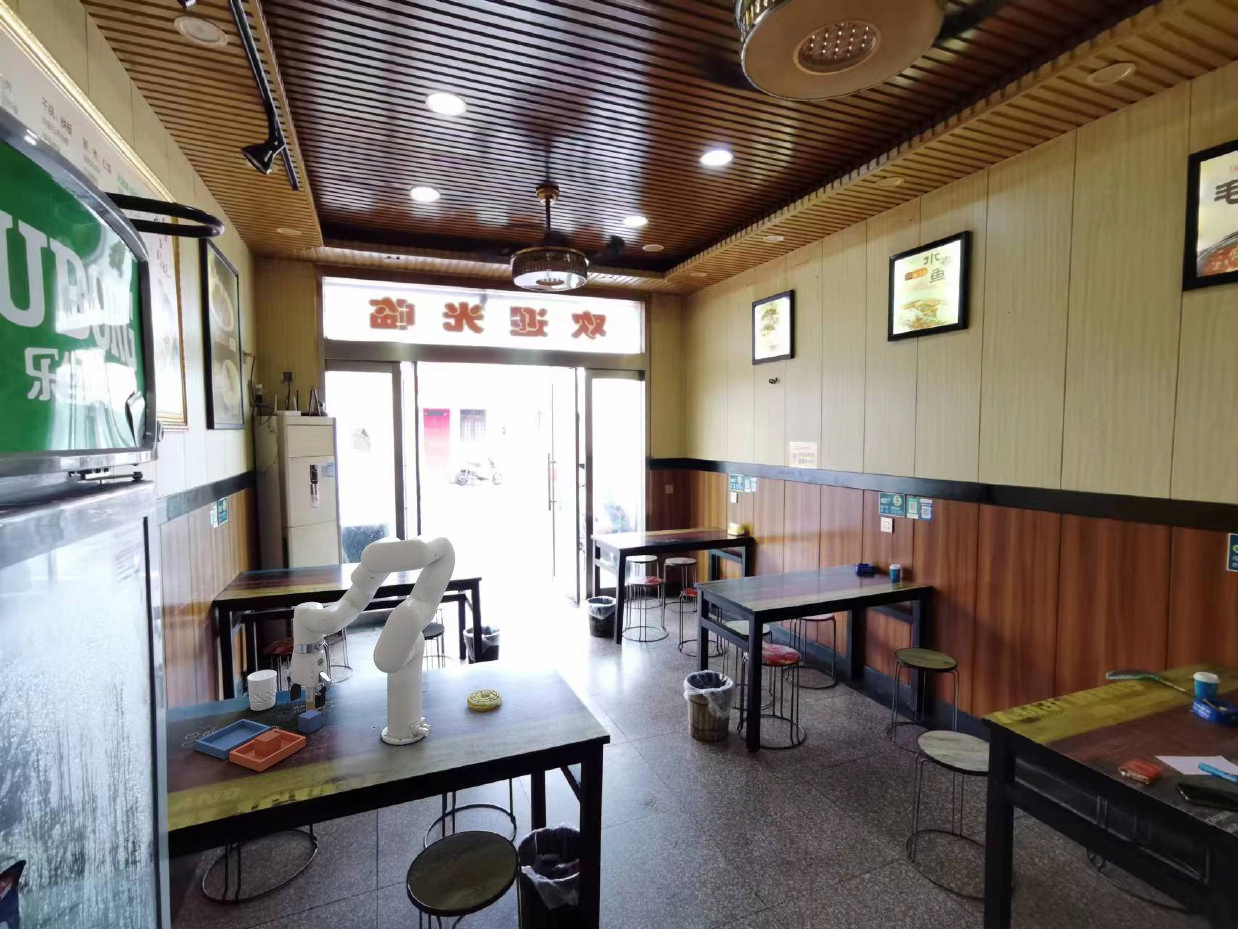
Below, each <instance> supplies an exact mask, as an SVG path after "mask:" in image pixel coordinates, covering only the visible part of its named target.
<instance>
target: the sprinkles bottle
mask: <svg viewBox="0 0 1238 929" xmlns="http://www.w3.org/2000/svg"><path fill="white" fill-rule="evenodd" d="M318 683H319V682H318ZM318 683H317V684H318ZM304 688H305V712H307V711H309V710H315V711H319V710H321V709H322V707H320V708H318V709H316V708H315V695H317V694H316V692H315V690H314V688H311V687H307V686H304ZM318 688H319V690H320V689H321V686H318Z"/></svg>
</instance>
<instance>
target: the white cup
mask: <svg viewBox="0 0 1238 929" xmlns="http://www.w3.org/2000/svg"><path fill="white" fill-rule="evenodd" d="M277 674H278V673H277V671H276V670H273V669H262V670H258V671H254V672H252V673H250V674H249V675H247V677H246V678H247V691H248V701H249V708H250V710H252V711H257V712H258V711H266V710H268V709H270V708H272V707H274V706H275V704H276V694H277Z"/></svg>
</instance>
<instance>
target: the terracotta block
mask: <svg viewBox="0 0 1238 929" xmlns="http://www.w3.org/2000/svg"><path fill="white" fill-rule="evenodd" d="M254 741H255V754H256V755H260V756H263V757H268V756H270V755H271V754H273V753H275V752H277V751H279V750H281V734H279V733H275V732H272V730H271V731H268V732H266V733H264V734H262V735H260V736H258V737H256V738H254Z"/></svg>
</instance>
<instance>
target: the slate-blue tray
mask: <svg viewBox="0 0 1238 929" xmlns="http://www.w3.org/2000/svg"><path fill="white" fill-rule="evenodd" d="M268 731H272V726H269V725H266V724H263V723H259V722H256V721H252V720H249V719H246V718H242V719H239V720H238V721H235V722H233V723H231V724H229V725H227V726H224V727H222V728H219V729H218V730H216V731H214V732H212V733H210V734H208V735H205V736H203V737H201V738H198V739H197V740H195V742H194V743H195V751H198V752H201V753H204V754H207V755H210V756H213V757H215V758H219V759H222V760H227V759H230V758H229V752H231V751H233V750H235V749H237V748H239V747H241V746H243V745H245V744H247V743H249V742H251V741H252V740H254V738H256V737H258V736H260V735H262V734H264V733H266V732H268Z"/></svg>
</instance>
